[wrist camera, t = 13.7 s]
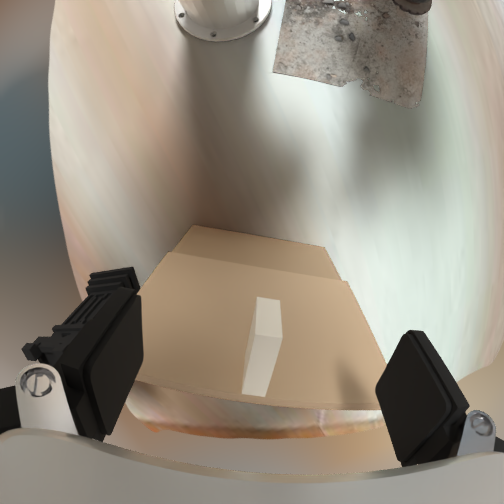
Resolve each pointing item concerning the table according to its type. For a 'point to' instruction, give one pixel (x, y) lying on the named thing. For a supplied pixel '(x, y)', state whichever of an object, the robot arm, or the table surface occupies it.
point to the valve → (357, 45)
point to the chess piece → (81, 314)
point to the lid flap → (257, 336)
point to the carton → (257, 251)
